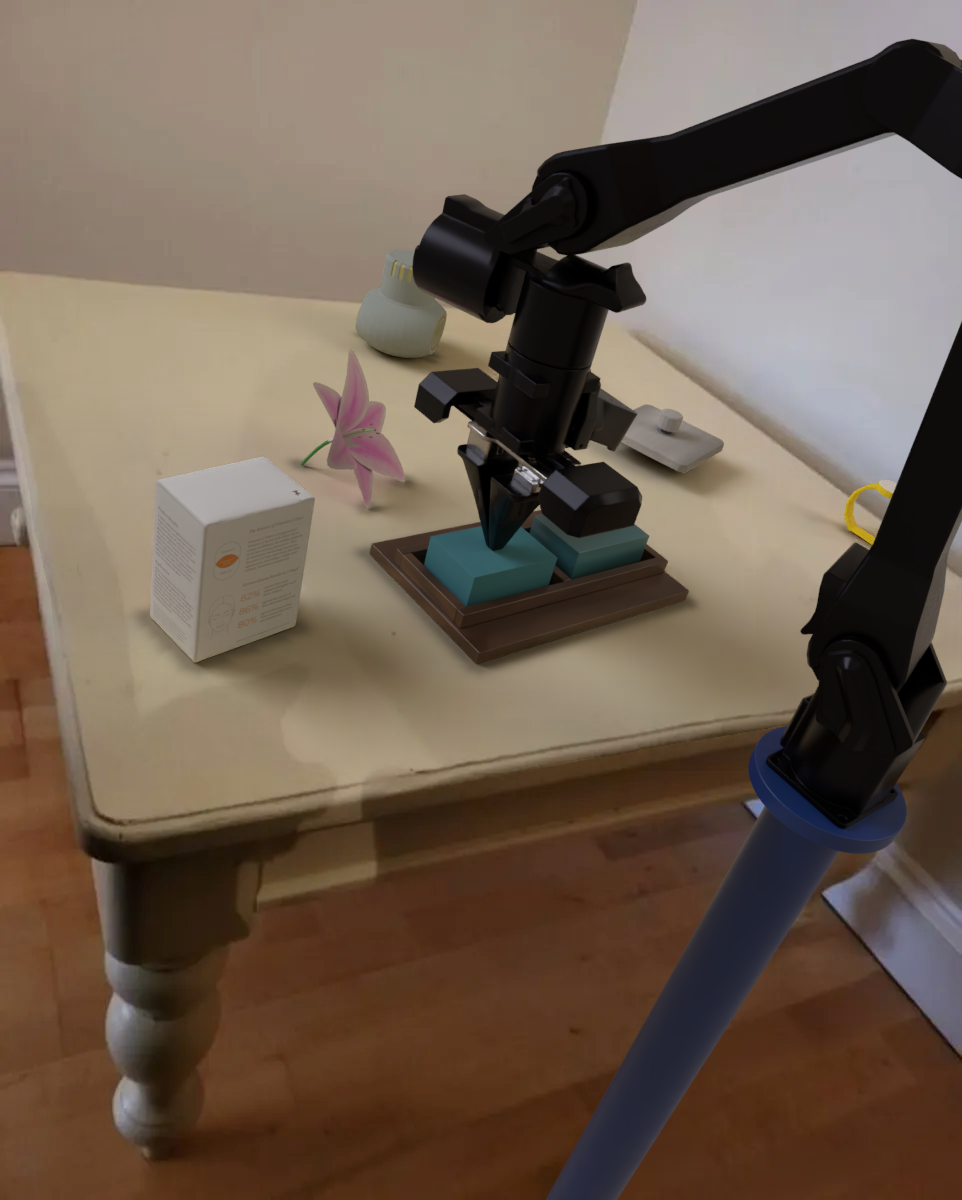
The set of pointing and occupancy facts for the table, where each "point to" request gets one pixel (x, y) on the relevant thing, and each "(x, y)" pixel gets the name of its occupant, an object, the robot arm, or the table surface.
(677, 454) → the light switch
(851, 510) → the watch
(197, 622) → the small box
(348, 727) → the table surface
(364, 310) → the air freshener
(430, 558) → the pad
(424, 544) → the brown two-compartment tray
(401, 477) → the lily
